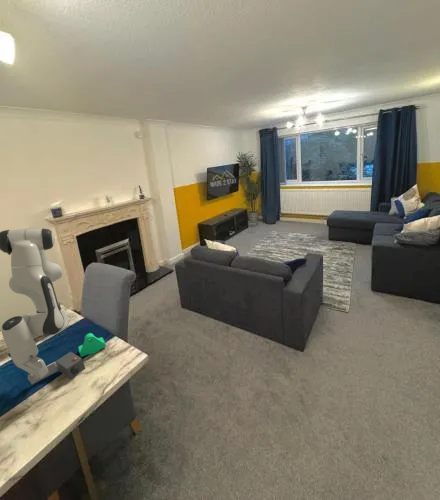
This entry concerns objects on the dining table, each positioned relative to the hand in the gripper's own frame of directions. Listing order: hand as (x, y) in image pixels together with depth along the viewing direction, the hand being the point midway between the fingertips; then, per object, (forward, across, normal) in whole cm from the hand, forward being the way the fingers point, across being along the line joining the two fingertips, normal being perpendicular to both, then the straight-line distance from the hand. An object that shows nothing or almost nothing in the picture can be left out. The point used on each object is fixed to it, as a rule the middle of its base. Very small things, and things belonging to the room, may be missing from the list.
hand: (35, 378), depth 115 cm
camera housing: (+4, -7, -12) cm, 14 cm away
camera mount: (+4, -4, -26) cm, 26 cm away
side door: (+3, +1, -3) cm, 5 cm away
